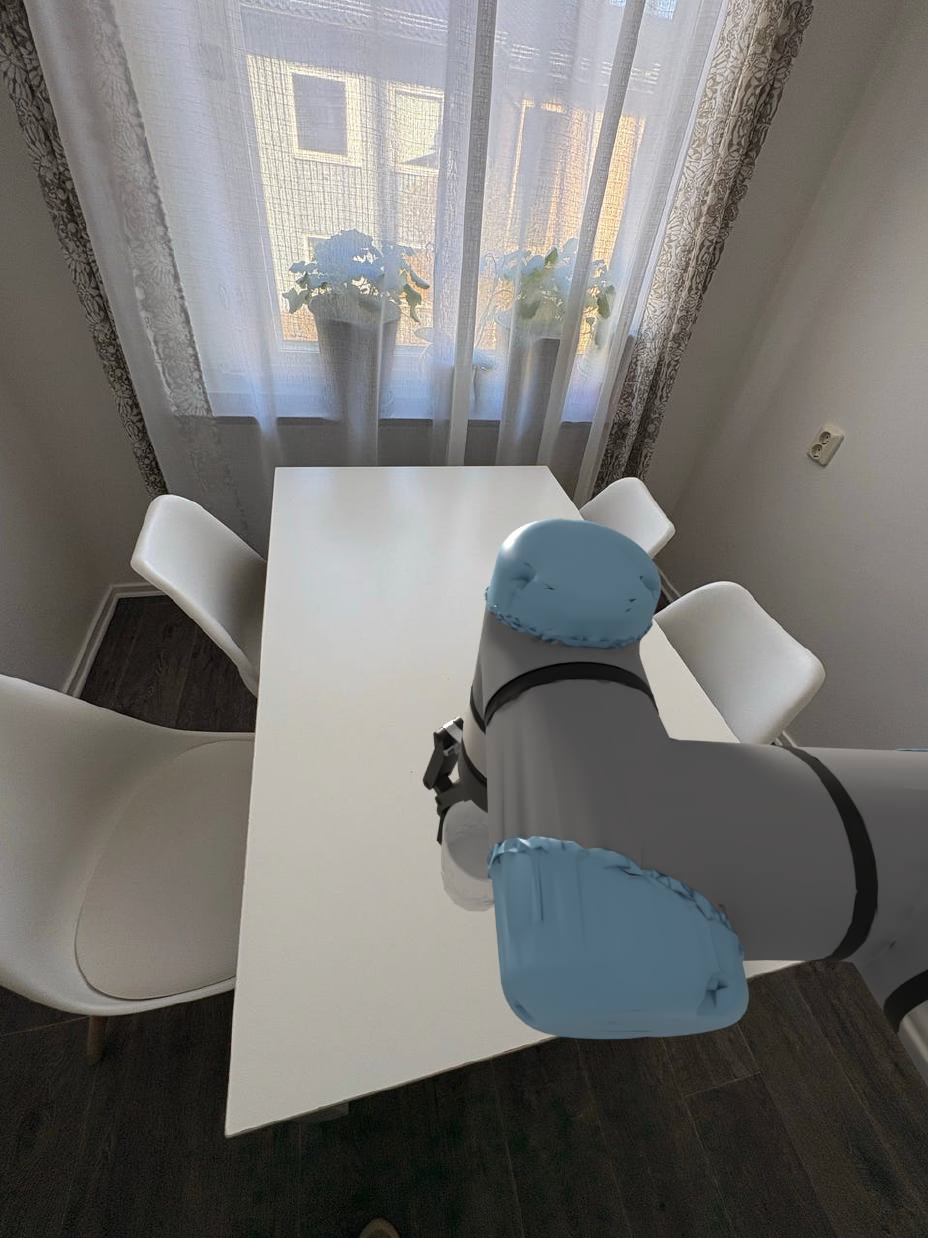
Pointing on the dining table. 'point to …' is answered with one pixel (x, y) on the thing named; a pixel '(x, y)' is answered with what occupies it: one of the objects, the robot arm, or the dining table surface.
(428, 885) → the dining table surface
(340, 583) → the dining table surface
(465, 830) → the white cup
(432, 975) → the dining table surface
